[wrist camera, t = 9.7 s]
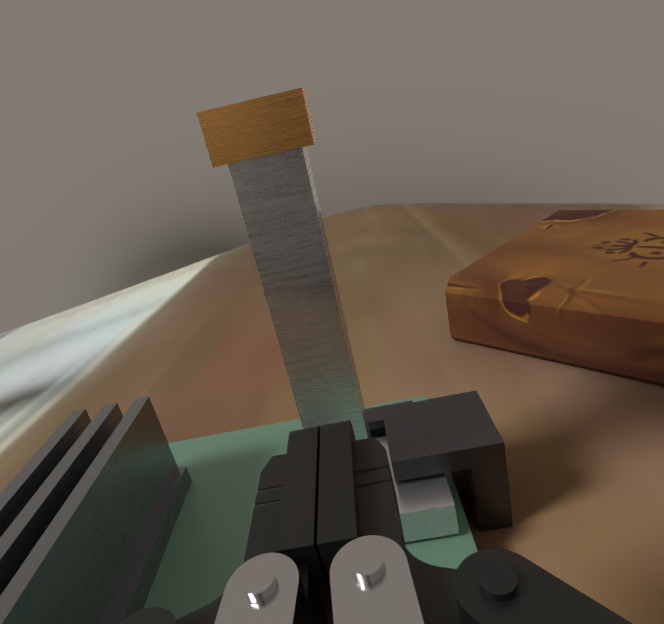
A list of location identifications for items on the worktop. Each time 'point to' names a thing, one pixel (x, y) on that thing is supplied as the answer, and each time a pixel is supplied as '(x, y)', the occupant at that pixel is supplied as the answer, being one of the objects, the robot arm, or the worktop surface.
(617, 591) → the worktop surface
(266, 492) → the robot arm
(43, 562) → the heatsink
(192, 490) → the board
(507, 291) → the diary
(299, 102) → the clip lever
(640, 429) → the worktop surface
